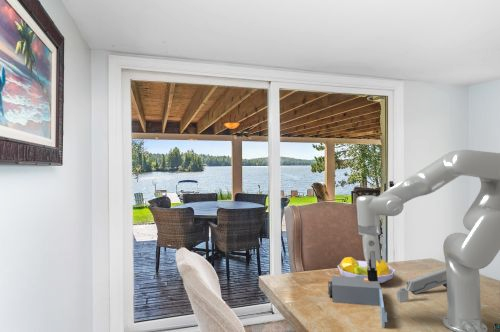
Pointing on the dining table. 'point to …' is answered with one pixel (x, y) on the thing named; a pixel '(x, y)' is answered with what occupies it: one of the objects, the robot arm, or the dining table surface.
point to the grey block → (354, 290)
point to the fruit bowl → (365, 269)
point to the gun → (429, 281)
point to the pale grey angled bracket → (404, 292)
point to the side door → (382, 309)
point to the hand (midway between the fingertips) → (372, 280)
